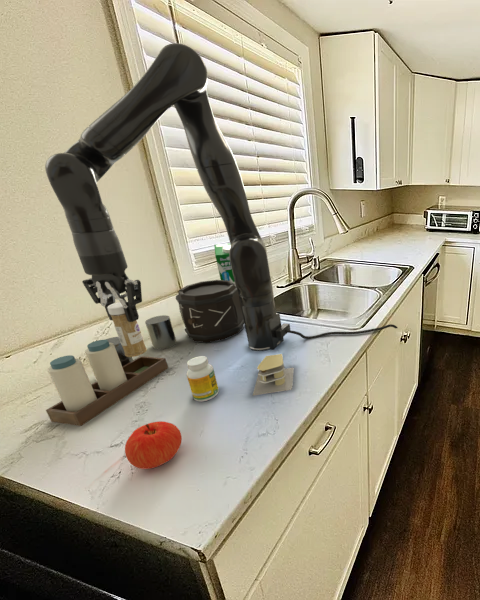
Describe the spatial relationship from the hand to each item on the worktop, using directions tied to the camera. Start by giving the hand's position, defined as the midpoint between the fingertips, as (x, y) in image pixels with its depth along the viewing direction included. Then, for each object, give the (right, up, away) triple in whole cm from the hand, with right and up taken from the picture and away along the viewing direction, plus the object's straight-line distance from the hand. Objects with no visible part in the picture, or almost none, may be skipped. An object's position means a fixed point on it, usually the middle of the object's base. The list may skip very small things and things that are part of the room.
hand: (124, 319), depth 79 cm
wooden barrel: (+6, -6, +29) cm, 31 cm away
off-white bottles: (-2, -19, -4) cm, 19 cm away
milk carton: (+4, +1, +49) cm, 49 cm away
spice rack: (-1, -18, -1) cm, 18 cm away
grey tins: (-6, -12, +14) cm, 20 cm away
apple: (+23, -25, -19) cm, 39 cm away
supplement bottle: (+21, -18, -2) cm, 28 cm away
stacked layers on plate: (+35, -16, +3) cm, 39 cm away
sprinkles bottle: (0, -9, +3) cm, 10 cm away
